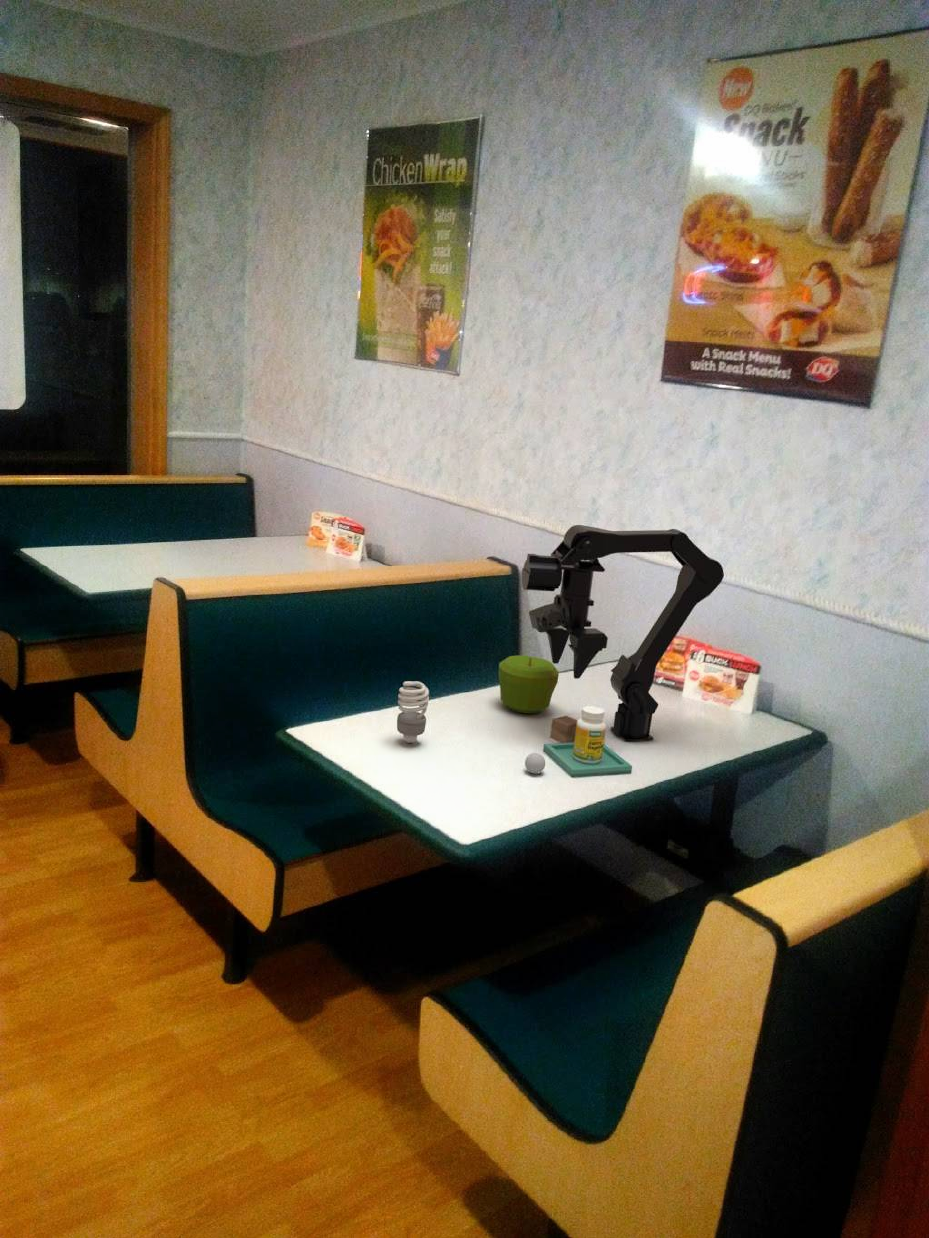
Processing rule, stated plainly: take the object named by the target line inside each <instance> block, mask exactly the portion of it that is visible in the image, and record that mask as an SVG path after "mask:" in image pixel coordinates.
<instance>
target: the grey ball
mask: <svg viewBox="0 0 929 1238" xmlns="http://www.w3.org/2000/svg"><path fill="white" fill-rule="evenodd" d="M524 760H525V761H524V767H525V769H526V770H527V772H529V773H531V774H539V773H541V772H543V771H544V770H545V767H546V760H545V758H544V755H542V754H540V753H539V752H532V753H530V754H528V755H527V756H526V757H525V759H524Z"/></svg>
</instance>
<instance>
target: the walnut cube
mask: <svg viewBox="0 0 929 1238" xmlns="http://www.w3.org/2000/svg"><path fill="white" fill-rule="evenodd" d="M578 720H579V719H575V718H573V717H571V716H569V715H567V714H566V715H562V716H559V717H553V718H551V728H550V736H549V738H550V739H552V740H554V741H557V743H570V742H575V734H576V726H577V721H578Z"/></svg>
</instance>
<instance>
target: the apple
mask: <svg viewBox="0 0 929 1238" xmlns="http://www.w3.org/2000/svg"><path fill="white" fill-rule="evenodd" d="M498 664H499V665H498V674H497V675H498V682H499V689H500V691H499V693H500V701H501V702H502V703H503V704H504V705H506V707H508V708H510V709H511V710H513V711H514V712H518V713H522V714H539V713H540V712H543V711H544V710H546V709H548V708H549V707H550V704H551V700H552V697H553V694H554V691H555V689H556V687H557V684H558V682H559V681H558V680H559V675H560V674H559V670H558V669H557V667H556V666H555V665H554V663H553V662H551V661H549V660H547V659H544V658H541V657H536V656H529V655H511V656H510V655H509V656H508V657H506V658H505V659H503V660H502V661H500V662H499V663H498Z"/></svg>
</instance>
